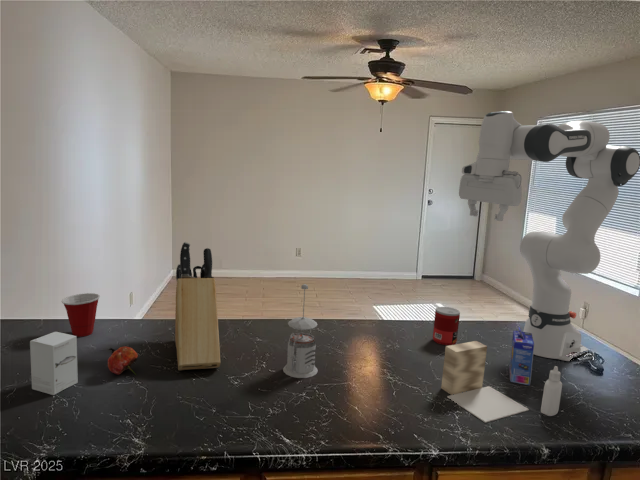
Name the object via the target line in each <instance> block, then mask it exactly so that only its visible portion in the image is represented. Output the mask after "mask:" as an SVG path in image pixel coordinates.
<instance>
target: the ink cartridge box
mask: <svg viewBox="0 0 640 480" xmlns="http://www.w3.org/2000/svg"><path fill="white" fill-rule="evenodd" d="M510 349H511V350H510V359H509V369H508V370H509V380H510V381H509V382H510V383H515V384H520V385H526V386H531V380H532V370H533V361H534V354H533V353H534V341H533V337H532V333H527V332H523V331H522V329H521V328H520V326H518V330H513V331H512V339H511V348H510Z"/></svg>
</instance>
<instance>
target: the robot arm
mask: <svg viewBox="0 0 640 480" xmlns="http://www.w3.org/2000/svg"><path fill="white" fill-rule="evenodd" d="M610 138H611V137H610V131H609V129H608V127H606V126H605V124H602V123H601V122H597V121H591V120H572V121H566V122H563V123H561V124H559V125H555V124H554V123H545V124H532V125H531V124H530V125H523V124H521V123H520V122H518V120H516V119H515V116H514V112H512V111H509V110H504V111H503V110H501V111H492V112H491V111H490V112H489V113H487V114H485V115H484V117H483V119H482V123H481V125H480V131H479V137H478V153H477V156H476V161H475V162H472V163H470V164H467V165H464V166H462V167H461V173H462V176H461V178H460V181H459V187H458V196H459V198H460V200H468V201H467V205H468V208H469V216H471V217H478V216H479V215H478V214H479V210H477V207H476V205H477V203H478V202H480V203H487V204H488V203H489V204H495V205H498V209H499V210H498V213H495V215H494V221H496V222H497V221H498V222H502V221H504V216H505V214H506V213H507V212H508V210H509V207H518V206H519V205H520V204H521V203H522V191H523V188H522V187H523V186H522V182H523V178H522V175H521V174H520V173H519V171H511V170H509V169H510V162H511V161H510V160H515V161H516V160H517V161H534V162H535V161H536V162H541V163H542V162H544V163H549V162H551V161H554V160H555V159H557V158H558V157H559V156H561V157H565V158H566V160H565V168H566V171H567V172H568V174H569V175H570V176H572V177H574V178H577V179H587V183H586V185H585V186H584V187H583V189H581V190H580V191H579V193H578V194H577V195H576V196H575V198H574V199H573V200H572V202H571V203H570V204H569V206H568V207H567V209H565V211H564V212H563V214H562V220H561V223H562V225H563V226H564V228H565V230H566V232H565V233H563V234H559V233H558V234H557V233H552V232H548V231H529V232H528V233H526V234H525V235H524V236H523V237H522V239H521V241H520V245H519V250H520V254H521V256H522V258H523V259H524V260H525V261H526V263H527V264H528V267H529V269H530V272H531V276H532V281H533V282H532V284H533V285H532V287H533V289H532V298H531V305H529V309H528V318H527V319H526V320H525V323H524V328H523V331H522V332H527V333H532V337H533V341H534V353H533V356H534V355H535V356H537V357H541V358H548V359H555V360H561V361H566V362H570V360H571V359H572V358H573V356H572V355H569V357H567V356H565V355H568V354H569V353H570V352H573V351H574V352H583V351H588V352H589V348H587V346H584V344H582V333H581V332H580V330H578V329H577V328H576V326H574V325H573V324H572V323H571V319H576V317H577V313H576V312H574V311H572V310H571V311H569V310H570V304H571V303H570V302H571V296H572V289H571V286H570V285H569V284H568V282H566V281H565V280H564V278H563V276H562V274H561V271H563V272H567V273H571V274H579V275H580V274H583V275H584V274H587V275H588V274H591V273H592V272H594V271H595V270H596V269H597V267H598V266H599V264H600V262H601V252H600V248H599V247H598V245H597V244H596V242H595V236H596V233H598V230H599V229H600V227H601V225H602V224H603V223H604V221H605V219H606V218H607V217H608V216H609V214H610V212H611V210H612V209H613V208H614V206H615V204H616V202H617V199H618V198H619V192H620V191H619V187H622V186H625V185H626V184H627V183H628V182H629V181H630V180H631V179H633V177H635V176H636V174H637V173H638V172H639V169H640V153H639V151H638V150H637V149H636V148H634V147H631V146H628V145H627V146H626V145H621V146H618V145H608V144H609V142H610ZM570 356H571V357H570ZM571 361H572V360H571Z"/></svg>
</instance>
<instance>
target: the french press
mask: <svg viewBox="0 0 640 480" xmlns="http://www.w3.org/2000/svg"><path fill="white" fill-rule="evenodd" d="M300 288H301V289H302V290H304V291H303V302H305V299H306V298H305V297H306V290H309V285H308V284H306V283H303V284H302V285H301V287H300ZM287 324H288V326H289V328H291V329H294V330H299V331H301V332H296V333H294V332H292V333H291V334H290V335H289V336H288V337H289V340H288V341H287V359H286V361H287V362H286V364H285V366H284V367H283V368H282V370H283V373H285V375H287V376H290V377H291V378H295V379H296V378H297V379H306V378H312V377H314V376H316V375H317V373H318V368H317V367H316V365H315V362H316V361H315V359H316V352H315V351H316V347H317V346H316V344H317V343H316V341H315V339H316V337H315V336H314V335H312V334H310V333H308V332H307V333H306V332H304V331H307V330H313V329H315V328H317V327H318V323H317V321H315V320H314V319H312V318H309V317H305V304H303V310H302V316H301V317H299V316H298V317H295V318H292V319H291V320H289V321H288V322H287ZM292 345H293V346H292ZM299 345H300V346H299Z"/></svg>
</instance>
